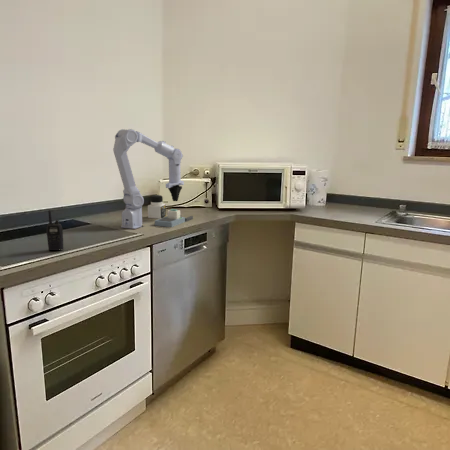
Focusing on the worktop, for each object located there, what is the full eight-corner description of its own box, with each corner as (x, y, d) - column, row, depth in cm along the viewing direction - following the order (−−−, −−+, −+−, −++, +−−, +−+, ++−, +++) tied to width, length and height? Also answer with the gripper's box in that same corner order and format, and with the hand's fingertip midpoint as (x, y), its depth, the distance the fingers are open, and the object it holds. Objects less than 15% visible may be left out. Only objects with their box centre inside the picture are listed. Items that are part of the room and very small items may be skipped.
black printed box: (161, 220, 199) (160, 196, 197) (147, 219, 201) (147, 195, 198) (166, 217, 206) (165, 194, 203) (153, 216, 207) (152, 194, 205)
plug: (176, 224, 188) (176, 210, 187) (167, 223, 190) (167, 209, 189) (180, 222, 192) (180, 209, 190) (171, 221, 194) (171, 208, 192)
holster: (186, 223, 193) (186, 218, 193) (172, 221, 196) (172, 217, 196) (193, 220, 200) (193, 216, 199) (179, 218, 203) (179, 214, 202)
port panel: (171, 228, 181) (171, 222, 180) (154, 226, 184) (154, 220, 183) (185, 223, 193) (185, 216, 192) (168, 221, 196) (168, 215, 195)
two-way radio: (47, 251, 143) (43, 211, 140) (50, 248, 147) (46, 208, 144) (63, 251, 144) (60, 210, 141) (65, 248, 148) (62, 208, 145)
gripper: (174, 175, 185) (175, 203, 188) (189, 172, 198) (189, 199, 201) (161, 174, 188) (162, 202, 191) (176, 171, 201) (177, 198, 204)
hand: (175, 200), depth 196 cm, fingers closed
